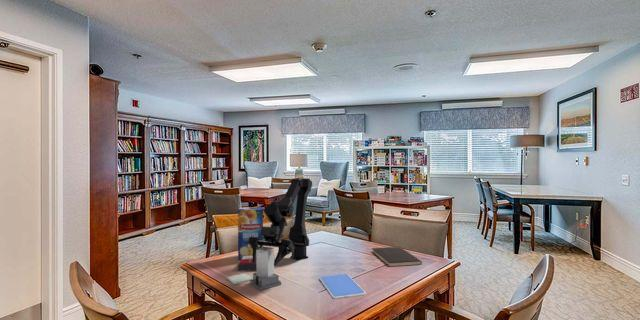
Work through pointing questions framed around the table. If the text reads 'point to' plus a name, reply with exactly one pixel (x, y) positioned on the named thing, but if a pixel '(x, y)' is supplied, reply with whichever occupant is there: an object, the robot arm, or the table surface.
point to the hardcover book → (396, 256)
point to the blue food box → (248, 229)
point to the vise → (265, 281)
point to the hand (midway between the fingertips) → (263, 264)
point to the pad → (239, 278)
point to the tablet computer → (342, 286)
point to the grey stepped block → (265, 261)
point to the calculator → (247, 264)
